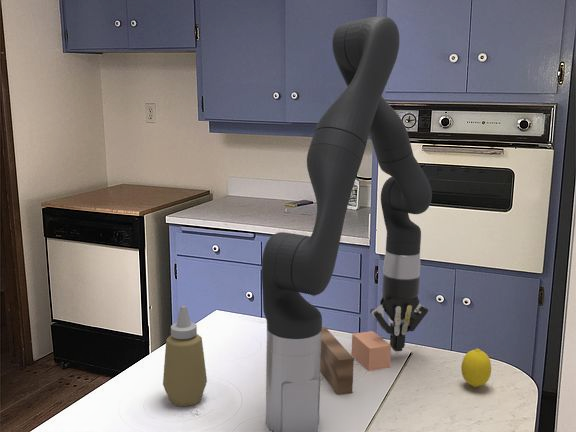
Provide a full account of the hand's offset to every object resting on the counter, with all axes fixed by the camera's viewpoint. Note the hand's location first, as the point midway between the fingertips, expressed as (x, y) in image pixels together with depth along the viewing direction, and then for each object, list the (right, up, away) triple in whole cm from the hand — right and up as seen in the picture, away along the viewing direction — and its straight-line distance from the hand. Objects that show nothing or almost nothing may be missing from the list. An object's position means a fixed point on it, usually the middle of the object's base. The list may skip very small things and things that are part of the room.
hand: (397, 349), depth 131 cm
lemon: (+13, -5, -12) cm, 18 cm away
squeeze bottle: (-42, -5, -18) cm, 46 cm away
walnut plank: (-15, -3, -8) cm, 17 cm away
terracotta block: (-6, -2, -1) cm, 6 cm away
